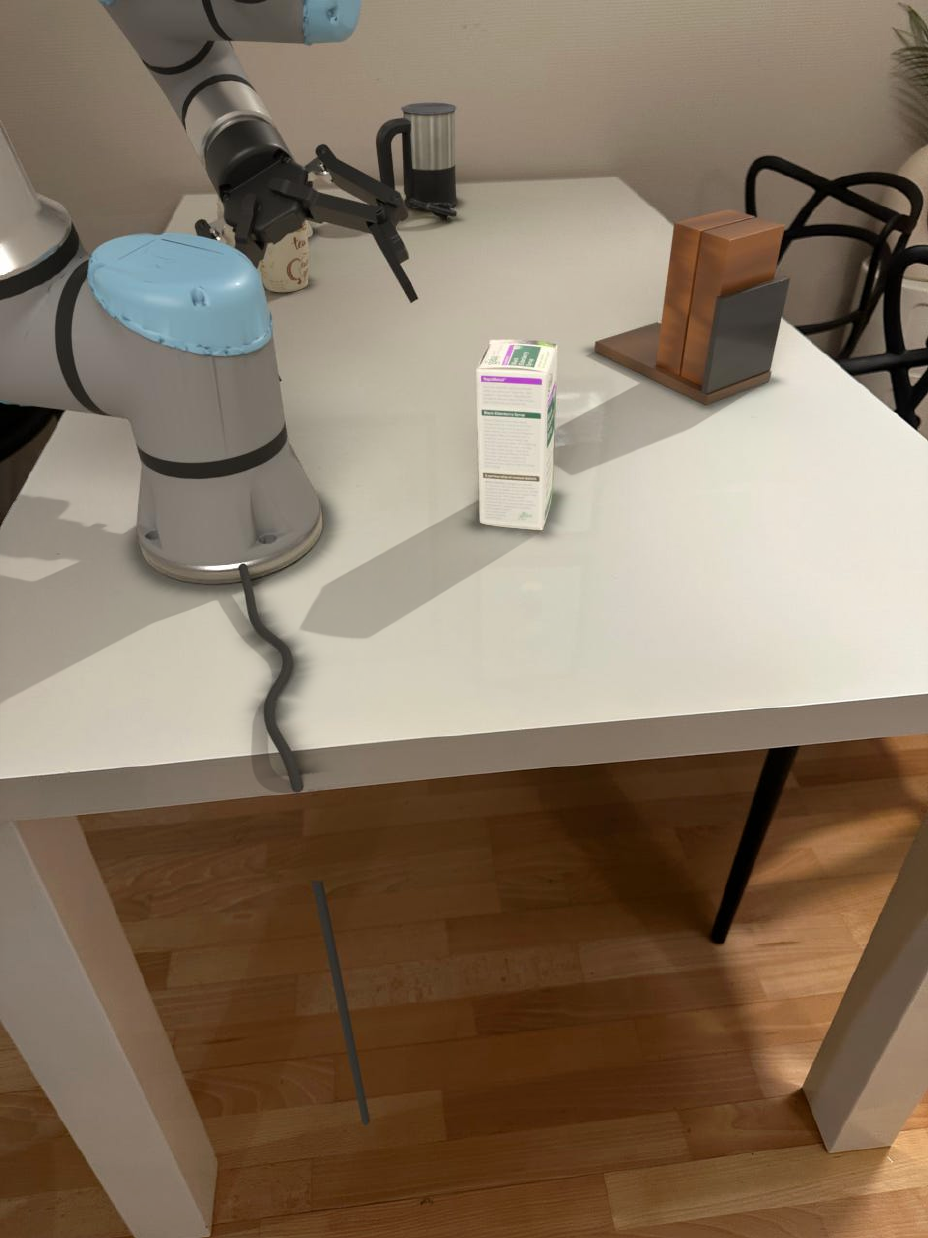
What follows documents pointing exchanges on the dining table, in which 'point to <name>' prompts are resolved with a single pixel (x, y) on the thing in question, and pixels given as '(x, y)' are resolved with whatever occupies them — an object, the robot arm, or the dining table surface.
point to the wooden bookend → (712, 309)
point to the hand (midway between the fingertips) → (340, 334)
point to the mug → (286, 262)
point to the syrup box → (516, 432)
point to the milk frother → (423, 156)
